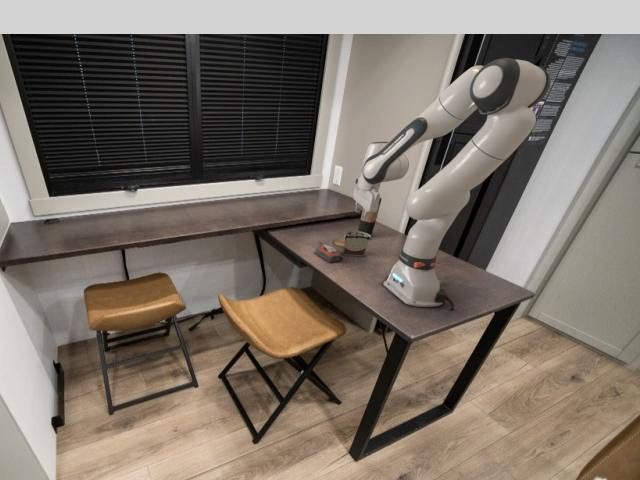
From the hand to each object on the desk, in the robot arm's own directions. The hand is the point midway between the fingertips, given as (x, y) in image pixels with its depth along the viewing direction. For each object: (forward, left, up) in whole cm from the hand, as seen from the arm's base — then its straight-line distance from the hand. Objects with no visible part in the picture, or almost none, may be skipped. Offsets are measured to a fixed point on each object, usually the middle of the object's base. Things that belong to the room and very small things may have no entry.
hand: (361, 215), depth 138 cm
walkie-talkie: (-1, +13, -18) cm, 23 cm away
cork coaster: (+11, +1, -18) cm, 21 cm away
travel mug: (+22, -14, -18) cm, 32 cm away
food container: (0, 0, -18) cm, 18 cm away
